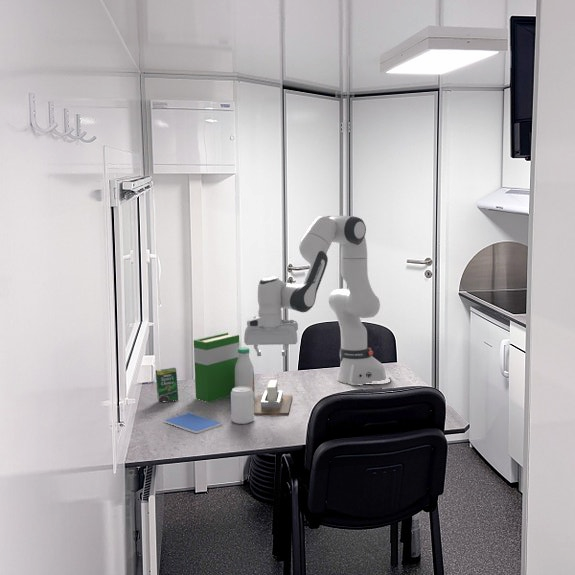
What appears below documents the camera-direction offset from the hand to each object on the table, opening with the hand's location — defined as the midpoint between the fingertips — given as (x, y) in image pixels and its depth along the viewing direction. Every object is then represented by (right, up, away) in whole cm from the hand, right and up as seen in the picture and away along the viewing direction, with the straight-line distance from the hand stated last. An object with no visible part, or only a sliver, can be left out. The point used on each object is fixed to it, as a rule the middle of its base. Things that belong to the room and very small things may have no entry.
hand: (271, 355), depth 285 cm
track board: (0, -20, +3) cm, 20 cm away
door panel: (0, -19, +3) cm, 19 cm away
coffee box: (-41, -19, +11) cm, 47 cm away
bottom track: (0, -20, +3) cm, 20 cm away
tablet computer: (-28, -24, -15) cm, 40 cm away
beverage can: (-10, -23, -14) cm, 29 cm away
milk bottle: (-11, -18, +15) cm, 26 cm away
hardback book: (-22, -18, +18) cm, 33 cm away
